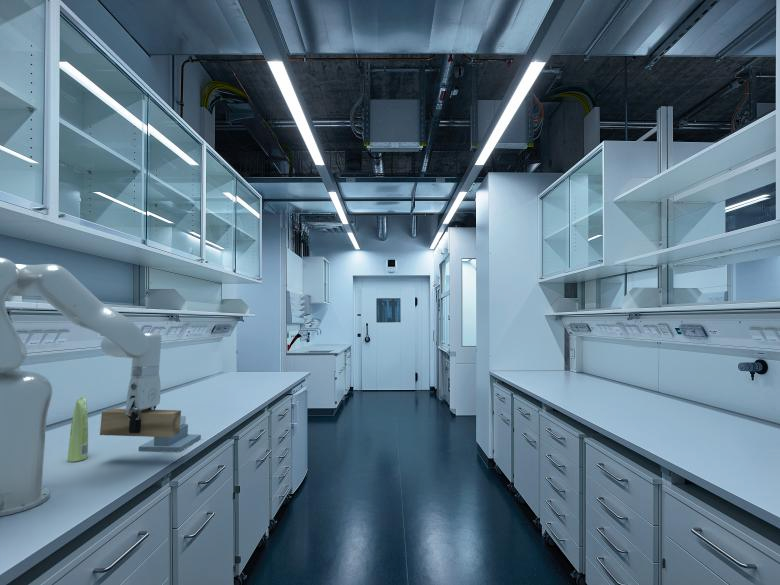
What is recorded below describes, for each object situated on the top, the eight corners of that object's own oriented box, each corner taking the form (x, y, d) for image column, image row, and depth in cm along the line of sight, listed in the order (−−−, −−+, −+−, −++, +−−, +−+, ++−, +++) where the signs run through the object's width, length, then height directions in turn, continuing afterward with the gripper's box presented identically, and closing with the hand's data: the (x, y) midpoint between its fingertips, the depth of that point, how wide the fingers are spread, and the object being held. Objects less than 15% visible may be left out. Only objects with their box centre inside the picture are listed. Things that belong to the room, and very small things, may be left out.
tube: (62, 460, 120) (67, 397, 121) (81, 455, 125) (85, 394, 126) (73, 463, 118) (77, 399, 119) (91, 458, 122) (95, 396, 124)
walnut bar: (170, 437, 117) (172, 413, 118) (99, 435, 118) (101, 411, 118) (179, 432, 122) (181, 410, 123) (111, 430, 123) (113, 408, 123)
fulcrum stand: (179, 451, 129) (180, 426, 129) (138, 451, 129) (139, 425, 130) (200, 438, 143) (201, 415, 143) (163, 438, 143) (164, 414, 144)
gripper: (138, 375, 113) (133, 438, 111) (172, 369, 130) (168, 423, 128) (113, 374, 113) (108, 437, 111) (150, 368, 130) (146, 423, 128)
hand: (140, 429), depth 120 cm, fingers closed on walnut bar, 4 cm apart
